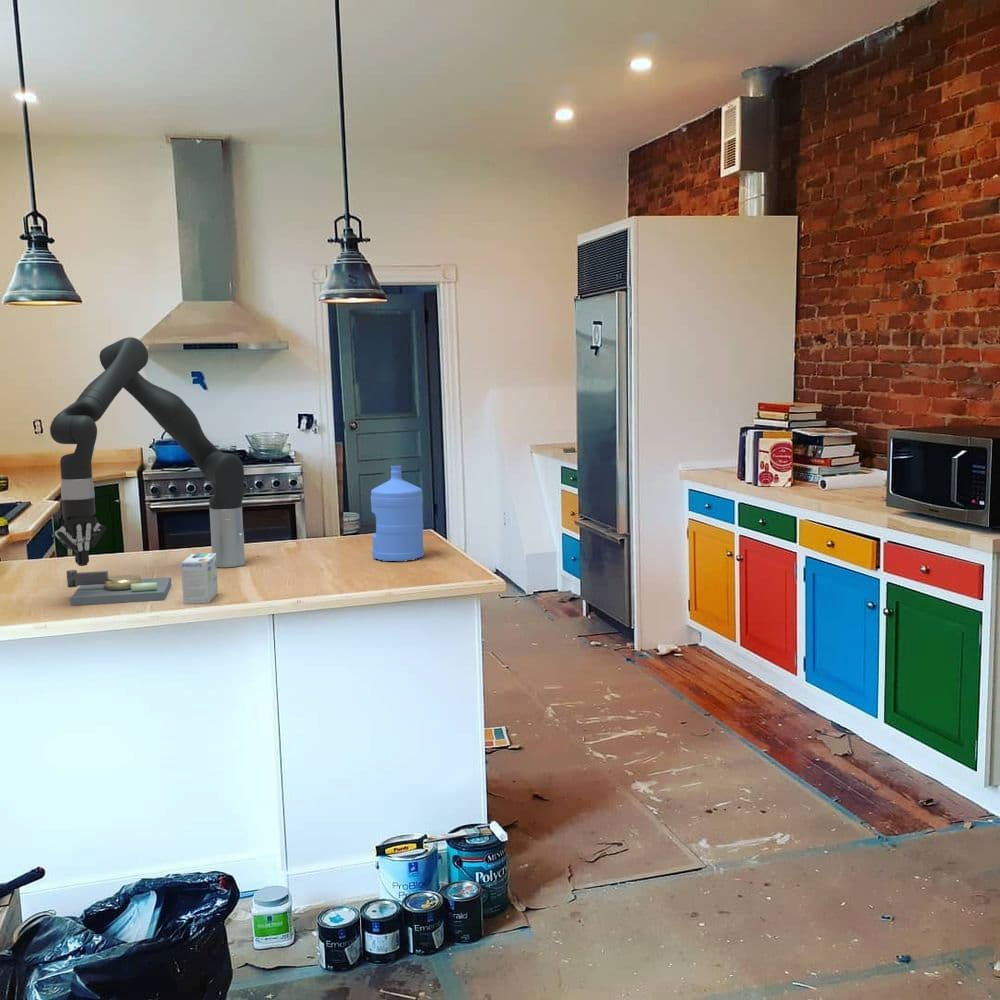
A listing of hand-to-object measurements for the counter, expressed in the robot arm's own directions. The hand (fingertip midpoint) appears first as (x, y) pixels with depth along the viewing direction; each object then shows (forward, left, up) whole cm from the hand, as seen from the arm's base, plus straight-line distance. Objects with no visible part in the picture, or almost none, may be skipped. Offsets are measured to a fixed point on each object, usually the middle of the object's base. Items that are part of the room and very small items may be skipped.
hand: (82, 565), depth 241 cm
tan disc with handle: (-4, -6, -7) cm, 10 cm away
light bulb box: (-28, +4, -10) cm, 30 cm away
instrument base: (-8, -6, -10) cm, 14 cm away
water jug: (-83, -35, -10) cm, 91 cm away
